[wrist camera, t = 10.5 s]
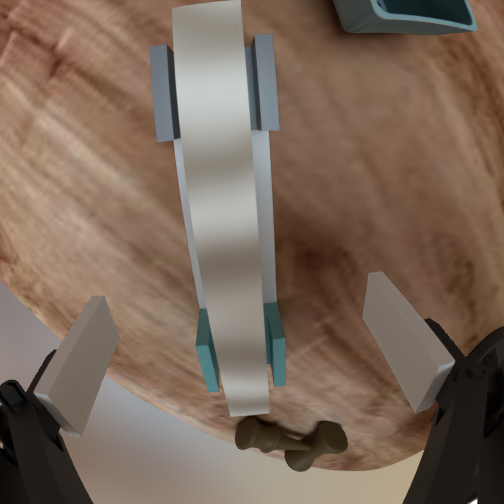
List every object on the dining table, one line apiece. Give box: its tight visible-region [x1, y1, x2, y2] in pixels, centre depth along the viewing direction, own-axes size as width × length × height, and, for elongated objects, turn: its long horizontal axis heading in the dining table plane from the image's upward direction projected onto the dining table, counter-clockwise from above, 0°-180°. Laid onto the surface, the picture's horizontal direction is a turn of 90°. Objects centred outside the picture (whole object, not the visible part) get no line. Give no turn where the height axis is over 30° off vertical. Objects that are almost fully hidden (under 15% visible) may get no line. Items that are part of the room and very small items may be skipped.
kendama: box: [235, 417, 348, 472], centre depth 37 cm, size 6×10×20 cm
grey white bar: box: [172, 0, 270, 417], centre depth 19 cm, size 30×4×5 cm, turn 4°
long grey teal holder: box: [150, 34, 286, 392], centre depth 21 cm, size 28×7×6 cm, turn 4°
